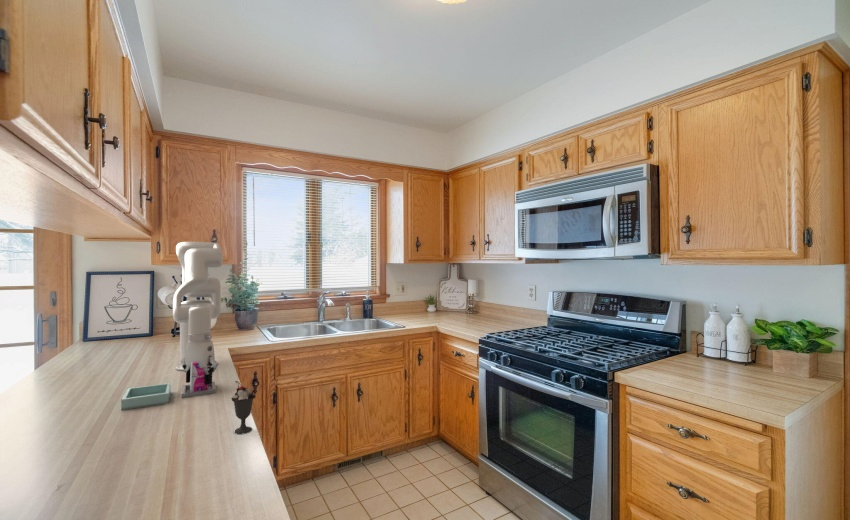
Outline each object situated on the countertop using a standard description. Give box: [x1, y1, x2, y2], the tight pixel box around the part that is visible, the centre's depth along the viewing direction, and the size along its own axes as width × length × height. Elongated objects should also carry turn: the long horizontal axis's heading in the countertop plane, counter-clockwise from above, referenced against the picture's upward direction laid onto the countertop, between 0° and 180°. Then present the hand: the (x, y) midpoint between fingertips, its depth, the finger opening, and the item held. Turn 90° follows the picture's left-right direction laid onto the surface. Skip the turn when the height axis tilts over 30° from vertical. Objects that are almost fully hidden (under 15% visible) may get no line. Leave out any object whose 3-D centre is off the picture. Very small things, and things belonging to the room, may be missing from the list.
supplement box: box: [189, 362, 209, 392], centre depth 150 cm, size 6×6×12 cm
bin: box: [120, 382, 172, 411], centre depth 139 cm, size 13×13×4 cm
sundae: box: [230, 380, 256, 435], centre depth 116 cm, size 7×7×15 cm
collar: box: [181, 380, 217, 399], centre depth 150 cm, size 11×11×2 cm
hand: (199, 382), depth 150 cm, fingers closed on supplement box, 8 cm apart
